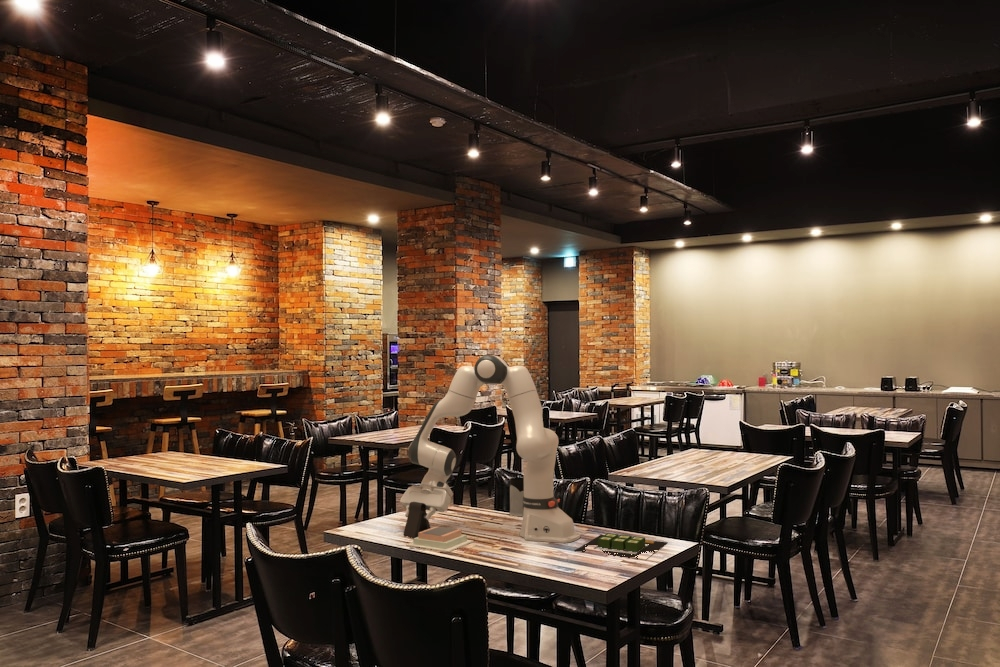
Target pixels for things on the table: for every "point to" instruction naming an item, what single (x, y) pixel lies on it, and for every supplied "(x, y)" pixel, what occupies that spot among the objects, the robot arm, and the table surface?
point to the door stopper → (416, 520)
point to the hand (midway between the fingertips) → (416, 517)
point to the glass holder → (516, 496)
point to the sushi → (624, 544)
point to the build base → (440, 539)
